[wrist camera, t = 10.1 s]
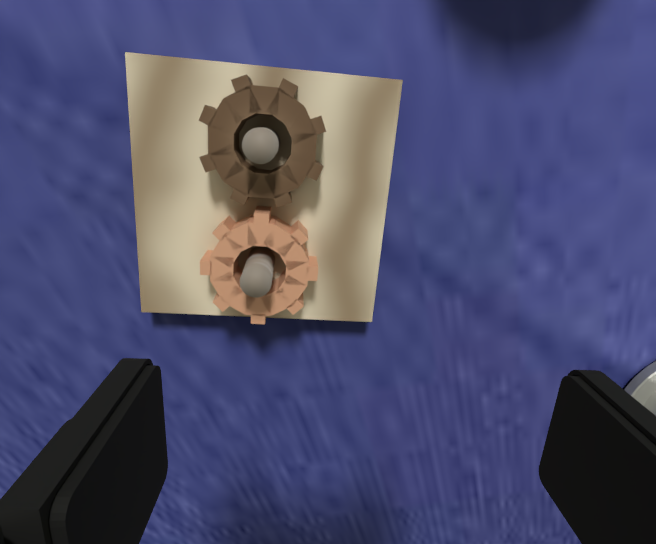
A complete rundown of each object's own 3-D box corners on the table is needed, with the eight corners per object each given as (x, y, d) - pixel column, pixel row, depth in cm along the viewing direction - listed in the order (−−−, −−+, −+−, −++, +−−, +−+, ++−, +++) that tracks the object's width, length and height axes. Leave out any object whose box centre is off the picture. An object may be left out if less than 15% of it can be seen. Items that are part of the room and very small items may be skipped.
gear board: (395, 83, 27) (424, 70, 21) (367, 310, 32) (384, 353, 26) (137, 57, 26) (88, 36, 20) (150, 300, 31) (114, 343, 25)
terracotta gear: (320, 210, 28) (322, 217, 25) (312, 311, 30) (313, 326, 28) (207, 202, 27) (199, 209, 25) (207, 306, 29) (200, 321, 27)
